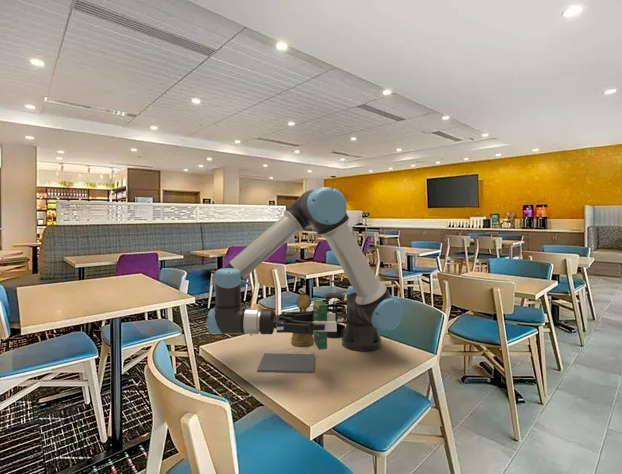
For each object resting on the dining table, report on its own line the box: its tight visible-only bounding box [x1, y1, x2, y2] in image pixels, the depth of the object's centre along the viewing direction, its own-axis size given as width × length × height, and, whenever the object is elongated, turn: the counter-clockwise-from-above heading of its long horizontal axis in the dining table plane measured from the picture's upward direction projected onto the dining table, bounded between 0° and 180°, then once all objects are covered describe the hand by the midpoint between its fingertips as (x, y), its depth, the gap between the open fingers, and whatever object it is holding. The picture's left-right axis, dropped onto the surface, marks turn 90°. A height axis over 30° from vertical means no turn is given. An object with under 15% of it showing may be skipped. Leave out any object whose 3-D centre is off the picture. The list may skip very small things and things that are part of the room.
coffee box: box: [312, 299, 328, 351], centre depth 104 cm, size 8×3×13 cm, turn 10°
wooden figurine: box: [291, 292, 315, 348], centre depth 138 cm, size 9×14×18 cm, turn 176°
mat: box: [256, 352, 316, 374], centre depth 117 cm, size 18×14×1 cm
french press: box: [323, 279, 347, 339], centre depth 147 cm, size 12×9×23 cm
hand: (335, 322), depth 103 cm, fingers closed on coffee box, 8 cm apart
